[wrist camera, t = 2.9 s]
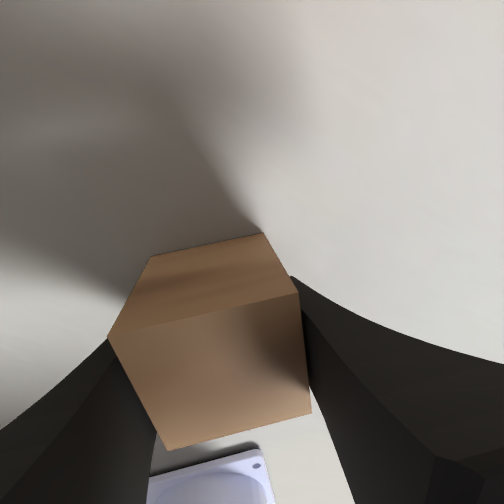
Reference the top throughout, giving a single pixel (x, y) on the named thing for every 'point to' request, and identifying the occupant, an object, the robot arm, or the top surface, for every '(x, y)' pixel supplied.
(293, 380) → the walnut cube
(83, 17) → the top surface
